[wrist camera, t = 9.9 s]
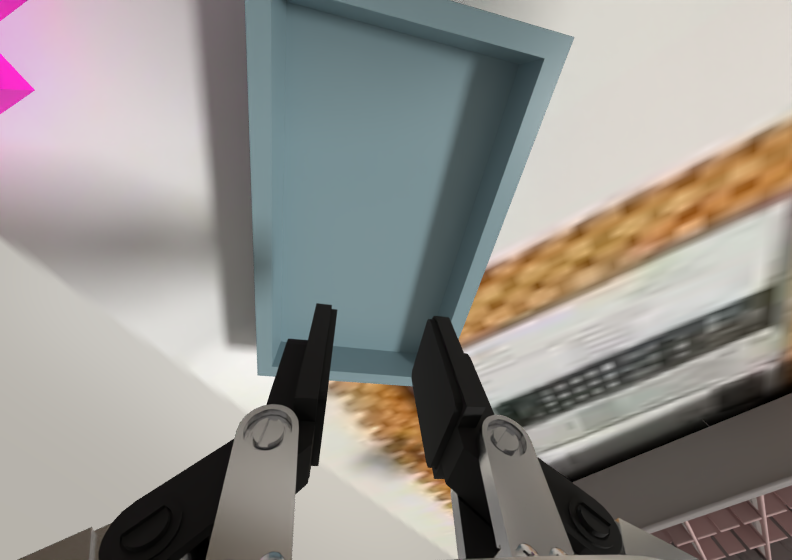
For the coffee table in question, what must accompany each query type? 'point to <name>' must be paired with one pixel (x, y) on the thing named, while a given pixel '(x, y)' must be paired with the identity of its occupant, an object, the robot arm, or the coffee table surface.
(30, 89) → the toy block
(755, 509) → the organizer tray
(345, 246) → the slate tray
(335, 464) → the coffee table surface
